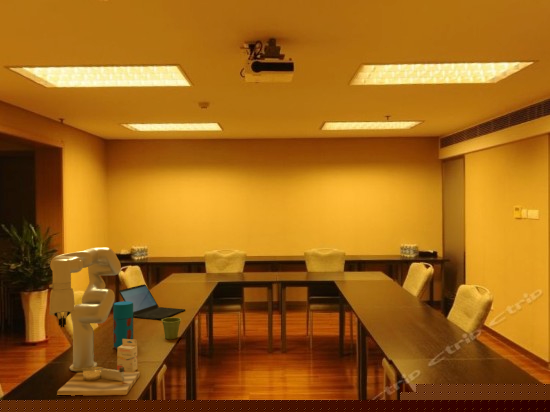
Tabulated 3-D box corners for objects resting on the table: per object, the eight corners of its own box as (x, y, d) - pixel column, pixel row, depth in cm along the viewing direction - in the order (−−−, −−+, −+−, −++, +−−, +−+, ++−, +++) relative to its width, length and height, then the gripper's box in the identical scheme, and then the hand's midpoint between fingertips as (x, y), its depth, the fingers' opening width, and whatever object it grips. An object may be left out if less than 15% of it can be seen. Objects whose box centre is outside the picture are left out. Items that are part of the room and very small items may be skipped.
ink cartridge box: (116, 371, 225) (116, 341, 225) (122, 368, 230) (122, 338, 230) (132, 372, 223) (132, 342, 223) (137, 369, 228) (137, 339, 228)
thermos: (110, 346, 265) (109, 303, 265) (127, 342, 272) (127, 300, 273) (119, 350, 257) (119, 306, 257) (136, 346, 265) (136, 303, 265)
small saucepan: (78, 379, 208) (78, 366, 208) (92, 372, 217) (92, 360, 217) (117, 384, 202) (117, 371, 202) (129, 377, 210) (129, 364, 211)
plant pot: (163, 341, 275) (163, 322, 275) (159, 336, 285) (159, 318, 286) (183, 339, 279) (183, 320, 280) (179, 334, 290) (178, 316, 290)
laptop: (161, 321, 326) (161, 293, 326) (117, 316, 339) (117, 290, 339) (186, 311, 358) (186, 286, 358) (145, 307, 370) (145, 283, 371)
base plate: (77, 376, 218) (77, 372, 218) (139, 375, 219) (139, 371, 219) (57, 395, 196) (57, 390, 196) (126, 394, 197) (126, 389, 197)
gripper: (43, 289, 203) (43, 330, 203) (80, 286, 209) (80, 326, 209) (43, 286, 209) (44, 326, 210) (79, 283, 216) (79, 322, 216)
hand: (62, 326), depth 209 cm, fingers closed
